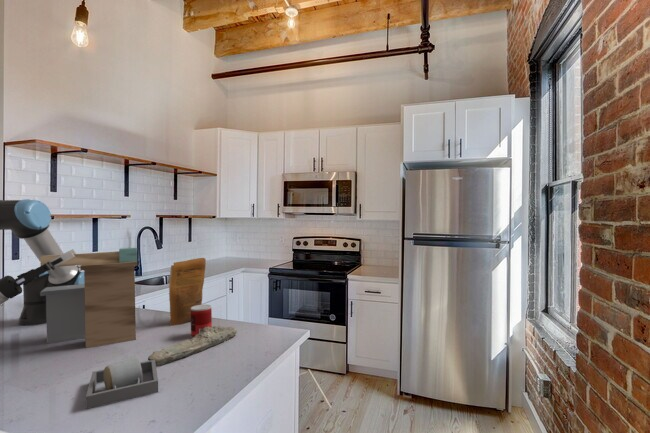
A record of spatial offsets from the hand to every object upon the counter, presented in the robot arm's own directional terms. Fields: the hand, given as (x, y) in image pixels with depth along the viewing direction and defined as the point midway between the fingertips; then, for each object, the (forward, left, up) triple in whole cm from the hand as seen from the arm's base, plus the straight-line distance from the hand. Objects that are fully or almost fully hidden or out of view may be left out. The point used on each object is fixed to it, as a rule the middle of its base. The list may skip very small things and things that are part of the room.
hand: (73, 252), depth 128 cm
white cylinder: (+47, +17, -35) cm, 61 cm away
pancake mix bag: (-10, +41, -35) cm, 54 cm away
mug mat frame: (+46, +17, -35) cm, 60 cm away
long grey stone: (+26, +38, -35) cm, 58 cm away
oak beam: (0, +6, -5) cm, 7 cm away
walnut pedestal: (0, +12, -35) cm, 36 cm away
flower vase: (-81, -3, -35) cm, 88 cm away
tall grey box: (-13, -1, -35) cm, 37 cm away
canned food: (+12, +43, -35) cm, 56 cm away
